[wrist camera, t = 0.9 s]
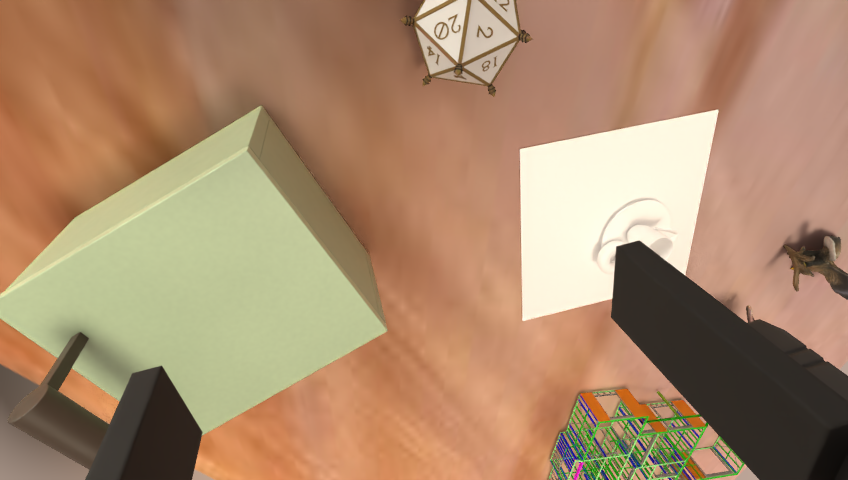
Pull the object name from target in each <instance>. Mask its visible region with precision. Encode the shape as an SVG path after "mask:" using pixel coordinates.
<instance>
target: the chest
mask: <svg viewBox="0 0 848 480" xmlns="http://www.w3.org/2000/svg"><path fill="white" fill-rule="evenodd" d="M247 146H249V147H250V149H251V150H252V151H253V152H254V154H255V155H256V156H257V158H258V159H259V160H260V161H261V163H262V164H263V165H264V167H265V168H266V169H267V170H268V172H269V173H270V174H271V176H272V177H273V178H274V180H275V181H276V182H277V183H278V185H279V186H280V187H281V189H282V190H283V191H284V192H285V194H286V195H287V196H288V198H289V199H290V200H291V202H292V203H293V204H294V205H295V207H296V208H297V209H298V211H299V212H300V213H301V214H302V216H303V217H304V218H305V220H306V221H307V222H308V224H309V225H310V226H311V227H312V229H313V230H314V231H315V233H316V234H317V235H318V236H319V238H320V239H321V240H322V242H323V243H324V244H325V245H326V247H327V248H328V249H329V251H330V252H331V253H332V255H333V256H334V257H335V258H336V260H337V261H338V262H339V264H340V265H341V266H342V267H343V269H344V270H345V271H346V273H347V274H348V275H349V277H350V278H351V279H352V280H353V282H354V283H355V284H356V286H357V287H358V288H359V289H360V291H361V292H362V293H363V295H364V296H365V297H366V299H367V300H368V301H369V302H370V304H371V305H372V306H373V308H374V309H375V310H376V311H377V313H378V314H379V315H380V317H381V318H382V319H383V321H384V322H385V317H384V313H383V309H382V305H381V301H380V297H379V292H378V288H377V284H376V280H375V276H374V272H373V267H372V263H371V259H370V255H369V254H368V253H367V251H366V250H365V249H364V247H363V246H362V244H361V243H360V242H359V240H358V239H357V237H356V236H355V235H354V233H353V232H352V230H351V229H350V228H349V226H348V225H347V223H346V222H345V221H344V219H343V218H342V216H341V215H340V214H339V212H338V211H337V209H336V208H335V207H334V205H333V204H332V202H331V201H330V200H329V198H328V197H327V195H326V194H325V193H324V191H323V190H322V188H321V187H320V186H319V184H318V183H317V181H316V180H315V179H314V177H313V176H312V175H311V173H310V172H309V170H308V169H307V168H306V166H305V165H304V163H303V162H302V161H301V159H300V158H299V156H298V155H297V154H296V152H295V151H294V149H293V148H292V147H291V145H290V144H289V142H288V141H287V140H286V138H285V137H284V135H283V134H282V133H281V131H280V130H279V128H278V127H277V126H276V124H275V123H274V121H273V120H272V119H271V117H270V116H269V114H268V113H267V112H266V110H265V109H264V108H263V106H262V105H261V106H259V107H258V108H256V109H254V110H253V111H251V112H249V113H248V114H246V115H244V116H243V117H241V118H239V119H238V120H236V121H234V122H233V123H231V124H230V125H228V126H226V127H225V128H223V129H221V130H220V131H218V132H216V133H215V134H213V135H211V136H210V137H208V138H206V139H205V140H203V141H201V142H200V143H198V144H196V145H195V146H193V147H191V148H190V149H188V150H186V151H185V152H183V153H181V154H180V155H178V156H176V157H175V158H173V159H171V160H170V161H168V162H166V163H165V164H163V165H161V166H160V167H158V168H156V169H155V170H153V171H152V172H150V173H148V174H147V175H145V176H143V177H142V178H140V179H138V180H137V181H135V182H133V183H132V184H130V185H128V186H127V187H125V188H123V189H122V190H120V191H118V192H117V193H115V194H113V195H112V196H110V197H108V198H107V199H105V200H103V201H102V202H100V203H98V204H97V205H95V206H93V207H92V208H90V209H88V210H87V211H85V212H83V213H82V214H80V215H79V216H77V217H75V218H74V219H73V220H72V221H71V222H70V223H69V224H68V225H67V226H66V228H65V229H64V230H63V231H62V232H61V233H60V234H59V235H58V236H57V237H56V238H55V239H54V240H53V241H52V242H51V243H50V244H49V245H48V246H47V247H46V248H45V249H44V250H43V251H42V253H41V254H40V255H39V256H38V257H37V258H36V259H35V260H34V261H33V262H32V263H31V264H30V265H29V266H28V267H27V268H26V269H25V270H24V271H23V272H22V273H21V274H20V275H19V276H18V278H17V279H16V280H15V281H14V282H13V283H12V284H11V285H10V286H9V287H8V288H7V289H6V290H8V289H9V288H11V287H13V286H14V285H16V284H18V283H19V282H21V281H23V280H25V279H26V278H28V277H30V276H31V275H33V274H35V273H36V272H38V271H40V270H41V269H43V268H45V267H46V266H48V265H50V264H51V263H53V262H55V261H56V260H58V259H60V258H61V257H63V256H65V255H66V254H68V253H70V252H71V251H73V250H75V249H76V248H78V247H80V246H81V245H83V244H85V243H86V242H88V241H90V240H91V239H93V238H95V237H96V236H98V235H100V234H101V233H103V232H105V231H106V230H108V229H110V228H111V227H113V226H115V225H116V224H118V223H120V222H121V221H123V220H125V219H126V218H128V217H130V216H131V215H133V214H135V213H136V212H138V211H140V210H141V209H143V208H145V207H147V206H148V205H150V204H152V203H153V202H155V201H157V200H158V199H160V198H162V197H163V196H165V195H167V194H168V193H170V192H172V191H173V190H175V189H177V188H178V187H180V186H182V185H183V184H185V183H187V182H188V181H190V180H192V179H193V178H195V177H197V176H198V175H200V174H202V173H203V172H205V171H207V170H208V169H210V168H212V167H213V166H215V165H217V164H218V163H220V162H222V161H223V160H225V159H227V158H228V157H230V156H232V155H233V154H235V153H237V152H238V151H240V150H242V149H243V148H245V147H247ZM6 290H5V291H6ZM385 323H386V322H385Z"/></svg>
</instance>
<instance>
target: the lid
mask: <svg viewBox="0 0 848 480" xmlns="http://www.w3.org/2000/svg"><path fill="white" fill-rule="evenodd" d="M0 319H2V320H3V321H5V322H6V323H8V324H9V325H10V326H12V327H13V328H15V329H16V330H18V331H19V332H20V333H22V334H23V335H25V336H26V337H28V338H29V339H31V340H32V341H33V342H35V343H36V344H38V345H39V346H41V347H42V348H43V349H45V350H46V351H48V352H49V353H51V354H52V355H53V356H55V357H56V358H58V359H57V360H56V362H55V363H54V365H53V366H52V368H51V369H50V371H49V372H48V374H47V375H46V377H45V379H44V380H43V382H42V383H41V385H40V386H39V387H38V388H37V389H35V390H34V391H32V392H31V393H30V394H28V395H27V396H26V397H25V398H24V399H23V400H22V401H21V402H20V403H19V404H18V405H17V406H16V407H15V408H14V410H13V411H12V412H11V414H10V416H9V418H8V423H9V424H11V425H13V426H15V427H16V428H18V429H20V430H21V431H23V432H25V433H27V434H29V435H30V436H32V437H34V438H35V439H37V440H39V441H41V442H42V443H44V444H46V445H48V446H49V447H51V448H53V449H55V450H56V451H58V452H60V453H62V454H63V455H65V456H67V457H68V458H70V459H72V460H74V461H75V462H77V463H79V464H81V465H82V466H84V467H86V468H88V469H89V470H90V468H91V466H92V463H93V461H94V459H95V457H96V454H97V452H98V450H99V447H100V445H101V443H102V441H103V438H104V436H105V434H106V432H107V429H108V427H109V424H107V423H106V422H104V421H103V420H101V419H100V418H98V417H97V416H95V415H94V414H92V413H91V412H89V411H88V410H86V409H85V408H83V407H81V406H80V405H78V404H77V403H75V402H74V401H72V400H71V399H69V398H68V397H66V396H65V395H63V394H62V393H60V392H59V391H58V390H59V388H60V387H61V385H62V383H63V382H64V380H65V378H66V377H67V375H68V373H69V372H70V370H71V368H72V369H74V370H75V371H76V372H78V373H79V374H81V375H82V376H84V377H85V378H87V379H88V380H89V381H91V382H92V383H94V384H95V385H97V386H98V387H99V388H101V389H102V390H104V391H105V392H107V393H108V394H110V395H111V396H112V397H114V398H115V399H117V400H118V401H120V400H121V397H122V395H123V393H124V390H125V388H126V386H127V384H128V381H129V379H130V377H131V375H132V373H135V372H139V371H143V370H147V369H151V368H154V367H158V366H163V368H164V370H165V371H166V373H167V375H168V376H169V378H170V380H171V381H172V383H173V384H174V386H175V388H176V389H177V391H178V393H179V394H180V396H181V398H182V399H183V401H184V402H185V404H186V406H187V407H188V409H189V411H190V412H191V414H192V416H193V417H194V419H195V421H196V422H197V424H198V425H199V427H200V429H201V430H202V435H204V434H206V433H208V432H209V431H211V430H213V429H215V428H216V427H218V426H220V425H222V424H224V423H225V422H227V421H229V420H231V419H232V418H234V417H236V416H238V415H240V414H241V413H243V412H245V411H247V410H248V409H250V408H252V407H254V406H256V405H257V404H259V403H261V402H263V401H264V400H266V399H268V398H270V397H271V396H273V395H275V394H277V393H279V392H280V391H282V390H284V389H286V388H287V387H289V386H291V385H293V384H295V383H296V382H298V381H300V380H302V379H303V378H305V377H307V376H309V375H311V374H312V373H314V372H316V371H318V370H319V369H321V368H323V367H325V366H327V365H328V364H330V363H332V362H334V361H335V360H337V359H339V358H341V357H343V356H344V355H346V354H348V353H350V352H351V351H353V350H355V349H357V348H359V347H360V346H362V345H364V344H366V343H367V342H369V341H371V340H373V339H374V338H376V337H378V336H380V335H382V334H383V333H385V332H387V331H388V330H387V326H386V323H385V322H384V321H383V319H382V318H381V317H380V315H379V314H378V313H377V311H376V310H375V309H374V308H373V306H372V305H371V304H370V302H369V301H368V300H367V299H366V297H365V296H364V295H363V293H362V292H361V291H360V289H359V288H358V287H357V286H356V284H355V283H354V282H353V280H352V279H351V278H350V277H349V275H348V274H347V273H346V271H345V270H344V269H343V267H342V266H341V265H340V264H339V262H338V261H337V260H336V258H335V257H334V256H333V255H332V253H331V252H330V251H329V249H328V248H327V247H326V245H325V244H324V243H323V242H322V240H321V239H320V238H319V236H318V235H317V234H316V233H315V231H314V230H313V229H312V227H311V226H310V225H309V224H308V222H307V221H306V220H305V218H304V217H303V216H302V214H301V213H300V212H299V211H298V209H297V208H296V207H295V205H294V204H293V203H292V202H291V200H290V199H289V198H288V196H287V195H286V194H285V192H284V191H283V190H282V189H281V187H280V186H279V185H278V183H277V182H276V181H275V180H274V178H273V177H272V176H271V174H270V173H269V172H268V170H267V169H266V168H265V167H264V165H263V164H262V163H261V161H260V160H259V159H258V158H257V156H256V155H255V154H254V152H253V151H252V150H251V149H250V147H249V146H247V147H245V148H243V149H242V150H240V151H238V152H237V153H235V154H233V155H232V156H230V157H228V158H227V159H225V160H223V161H222V162H220V163H218V164H217V165H215V166H213V167H212V168H210V169H208V170H207V171H205V172H203V173H202V174H200V175H198V176H197V177H195V178H193V179H192V180H190V181H188V182H187V183H185V184H183V185H182V186H180V187H178V188H177V189H175V190H173V191H172V192H170V193H168V194H167V195H165V196H163V197H162V198H160V199H158V200H157V201H155V202H153V203H152V204H150V205H148V206H147V207H145V208H143V209H141V210H140V211H138V212H136V213H135V214H133V215H131V216H130V217H128V218H126V219H125V220H123V221H121V222H120V223H118V224H116V225H115V226H113V227H111V228H110V229H108V230H106V231H105V232H103V233H101V234H100V235H98V236H96V237H95V238H93V239H91V240H90V241H88V242H86V243H85V244H83V245H81V246H80V247H78V248H76V249H75V250H73V251H71V252H70V253H68V254H66V255H65V256H63V257H61V258H60V259H58V260H56V261H55V262H53V263H51V264H50V265H48V266H46V267H45V268H43V269H41V270H40V271H38V272H36V273H35V274H33V275H31V276H30V277H28V278H26V279H25V280H23V281H21V282H19V283H18V284H16V285H14V286H13V287H11V288H9V289H8V290H6V291H4V292H3V293H1V294H0Z"/></svg>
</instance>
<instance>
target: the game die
mask: <svg viewBox="0 0 848 480" xmlns="http://www.w3.org/2000/svg"><path fill="white" fill-rule="evenodd" d="M401 21H402V22H403V23H404V24H405V26H406V25H409V26H410V25H411V24H413V27H414V30H415V33H416V36H417V39H418V43H419V46H420V49H421V52H422V55H423V58H424V61H425V64H426V67H427V71H428V76H425V78H424V79H423V86H425V85H427V84H429V82H430V81H431V78H438V79H445V80H451V81H458V82H464V83H471V84H477V85H484V86H488V91H489V94H491V95H492V96H493V97H494V96H495V91H496V90H495V87H493V85H492V83H493V82H494V80H495V78H496V77H497V75H498V74H499V72H500V71H501V69H502V67H503V66H504V64H505V63H506V61H507V60H508V58H509V56H510V55H511V53H512V52H513V50H514V49H515V47H516V45H517V44H518V42H519V41H520V40H521V41H522V42H525V43H527V42H528V41H530V40H532V38H531V37H530V35H529V34H528V33H526V32H525V31H524V30H523V31H522V30H521V29H520V23H519V17H518V11H517V5H516V0H423V2H422V4H421V5H420V7H419V9H418V11H417V13H416V14H415V16H414V18H411V17H407V16H405V17H404V18H403V19H401Z"/></svg>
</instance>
